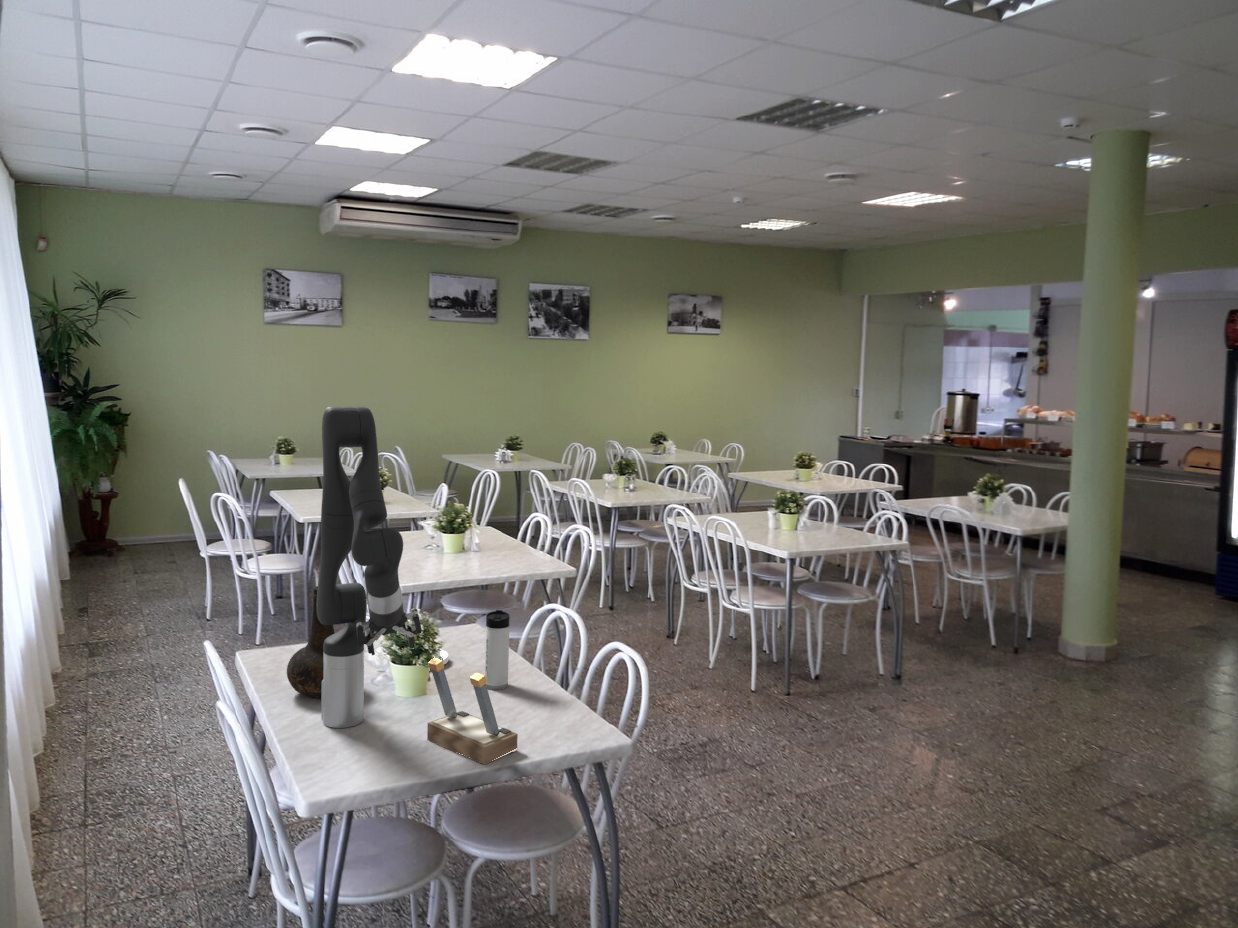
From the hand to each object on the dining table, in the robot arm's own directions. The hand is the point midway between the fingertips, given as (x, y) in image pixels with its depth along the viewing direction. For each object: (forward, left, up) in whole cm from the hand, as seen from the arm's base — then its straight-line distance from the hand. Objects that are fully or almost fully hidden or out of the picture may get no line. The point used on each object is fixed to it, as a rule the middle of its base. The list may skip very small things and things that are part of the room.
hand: (391, 648), depth 213 cm
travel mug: (-4, +37, -20) cm, 42 cm away
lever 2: (+27, +7, -15) cm, 32 cm away
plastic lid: (-32, +35, -20) cm, 51 cm away
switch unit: (+20, +7, -19) cm, 29 cm away
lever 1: (+13, +7, -15) cm, 21 cm away
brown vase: (-31, +2, -20) cm, 36 cm away
